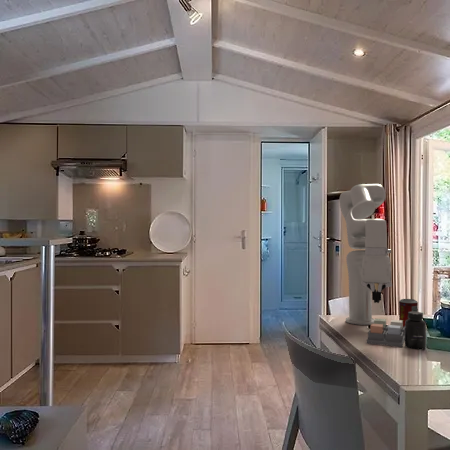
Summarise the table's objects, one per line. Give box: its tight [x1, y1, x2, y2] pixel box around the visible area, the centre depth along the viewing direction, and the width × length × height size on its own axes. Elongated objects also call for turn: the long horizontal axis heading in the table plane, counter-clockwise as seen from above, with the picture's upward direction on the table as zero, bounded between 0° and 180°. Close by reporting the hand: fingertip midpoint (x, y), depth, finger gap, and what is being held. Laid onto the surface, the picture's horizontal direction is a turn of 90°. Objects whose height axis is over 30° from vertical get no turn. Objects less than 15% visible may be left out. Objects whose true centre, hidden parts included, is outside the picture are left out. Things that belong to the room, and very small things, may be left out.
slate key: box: [388, 324, 401, 335], centre depth 158 cm, size 4×4×2 cm
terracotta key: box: [370, 324, 383, 334], centre depth 161 cm, size 4×4×2 cm
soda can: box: [398, 298, 419, 326], centre depth 177 cm, size 7×7×12 cm
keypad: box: [366, 324, 405, 348], centre depth 164 cm, size 20×12×3 cm, turn 154°
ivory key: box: [390, 319, 403, 329], centre depth 167 cm, size 4×4×2 cm
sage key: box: [374, 318, 387, 328], centre depth 170 cm, size 4×4×2 cm
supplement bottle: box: [404, 311, 427, 350], centre depth 152 cm, size 7×7×12 cm
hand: (376, 302), depth 161 cm, fingers closed
